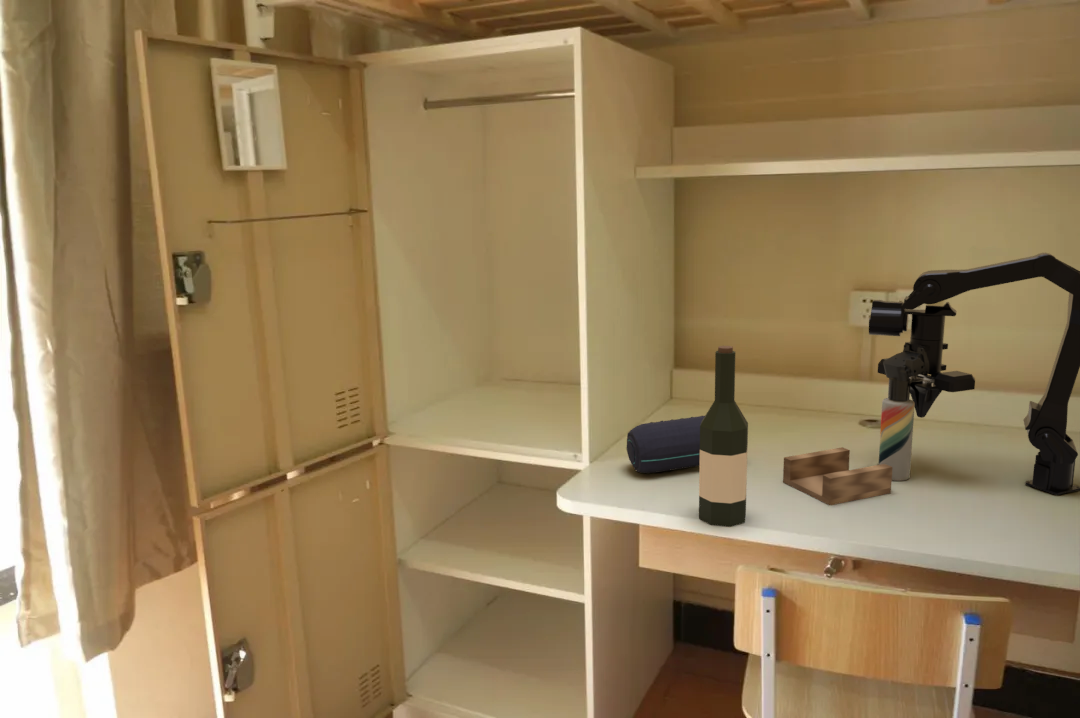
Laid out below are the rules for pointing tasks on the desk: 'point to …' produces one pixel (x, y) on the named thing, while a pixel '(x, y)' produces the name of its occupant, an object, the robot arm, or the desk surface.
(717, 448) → the wine bottle
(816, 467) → the cradle
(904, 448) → the lotion bottle
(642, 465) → the portable speaker
